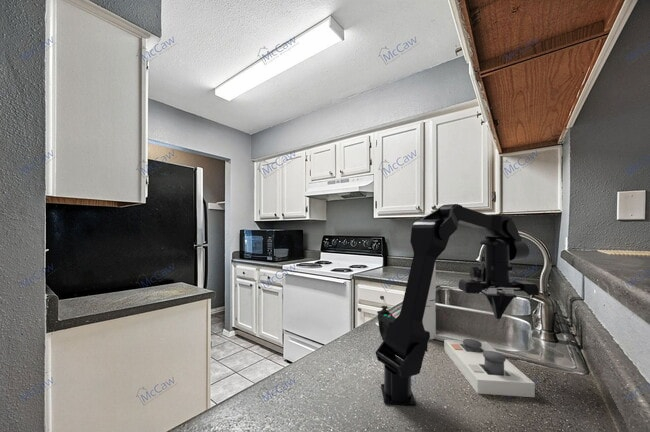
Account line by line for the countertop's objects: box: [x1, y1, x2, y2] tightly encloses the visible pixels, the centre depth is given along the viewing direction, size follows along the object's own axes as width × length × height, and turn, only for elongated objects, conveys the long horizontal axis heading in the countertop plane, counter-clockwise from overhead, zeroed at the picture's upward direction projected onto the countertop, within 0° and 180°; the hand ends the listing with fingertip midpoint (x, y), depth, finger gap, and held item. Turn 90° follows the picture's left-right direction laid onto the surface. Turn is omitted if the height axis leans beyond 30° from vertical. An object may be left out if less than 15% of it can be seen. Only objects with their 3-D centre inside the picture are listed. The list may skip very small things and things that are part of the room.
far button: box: [462, 338, 482, 352], centre depth 79 cm, size 5×5×4 cm
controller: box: [376, 305, 397, 340], centre depth 91 cm, size 4×12×10 cm, turn 8°
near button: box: [483, 351, 507, 376], centre depth 67 cm, size 5×5×4 cm
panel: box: [443, 339, 536, 398], centre depth 73 cm, size 22×12×3 cm, turn 175°
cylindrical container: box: [423, 261, 437, 340], centre depth 96 cm, size 7×7×25 cm
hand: (497, 318), depth 76 cm, fingers closed
